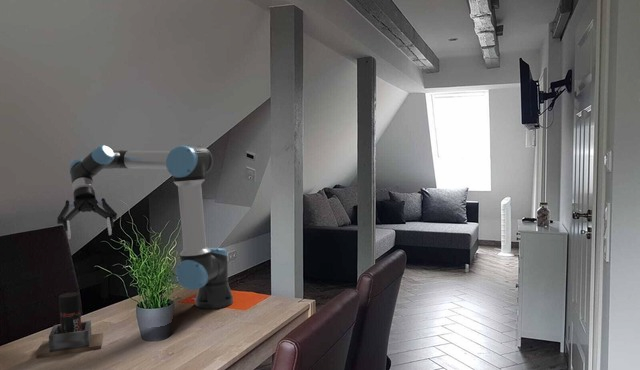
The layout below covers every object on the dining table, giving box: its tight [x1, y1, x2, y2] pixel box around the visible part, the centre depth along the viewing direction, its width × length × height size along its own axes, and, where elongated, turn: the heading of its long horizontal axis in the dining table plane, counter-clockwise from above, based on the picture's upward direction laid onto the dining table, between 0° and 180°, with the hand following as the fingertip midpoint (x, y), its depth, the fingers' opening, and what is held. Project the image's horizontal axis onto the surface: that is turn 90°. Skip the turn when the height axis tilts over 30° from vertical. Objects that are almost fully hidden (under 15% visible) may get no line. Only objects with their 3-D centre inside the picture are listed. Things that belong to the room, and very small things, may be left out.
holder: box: [35, 320, 104, 359], centre depth 156 cm, size 18×12×6 cm, turn 111°
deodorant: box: [58, 291, 82, 333], centre depth 156 cm, size 6×6×15 cm
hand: (90, 234), depth 178 cm, fingers open, 13 cm apart
